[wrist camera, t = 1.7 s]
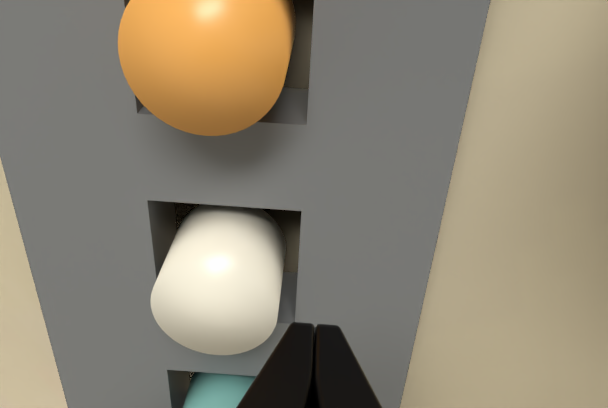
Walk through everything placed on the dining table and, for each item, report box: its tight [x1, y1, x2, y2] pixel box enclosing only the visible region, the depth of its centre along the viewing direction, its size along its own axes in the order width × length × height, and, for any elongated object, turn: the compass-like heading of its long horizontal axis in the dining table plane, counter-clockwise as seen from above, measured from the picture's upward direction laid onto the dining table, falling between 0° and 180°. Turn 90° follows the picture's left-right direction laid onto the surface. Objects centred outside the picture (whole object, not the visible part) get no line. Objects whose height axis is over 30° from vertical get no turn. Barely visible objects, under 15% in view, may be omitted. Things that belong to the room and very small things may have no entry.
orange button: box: [118, 0, 296, 136], centre depth 14 cm, size 4×4×3 cm
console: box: [0, 0, 490, 408], centre depth 20 cm, size 14×24×3 cm, turn 177°
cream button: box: [150, 204, 286, 355], centre depth 19 cm, size 4×4×3 cm
